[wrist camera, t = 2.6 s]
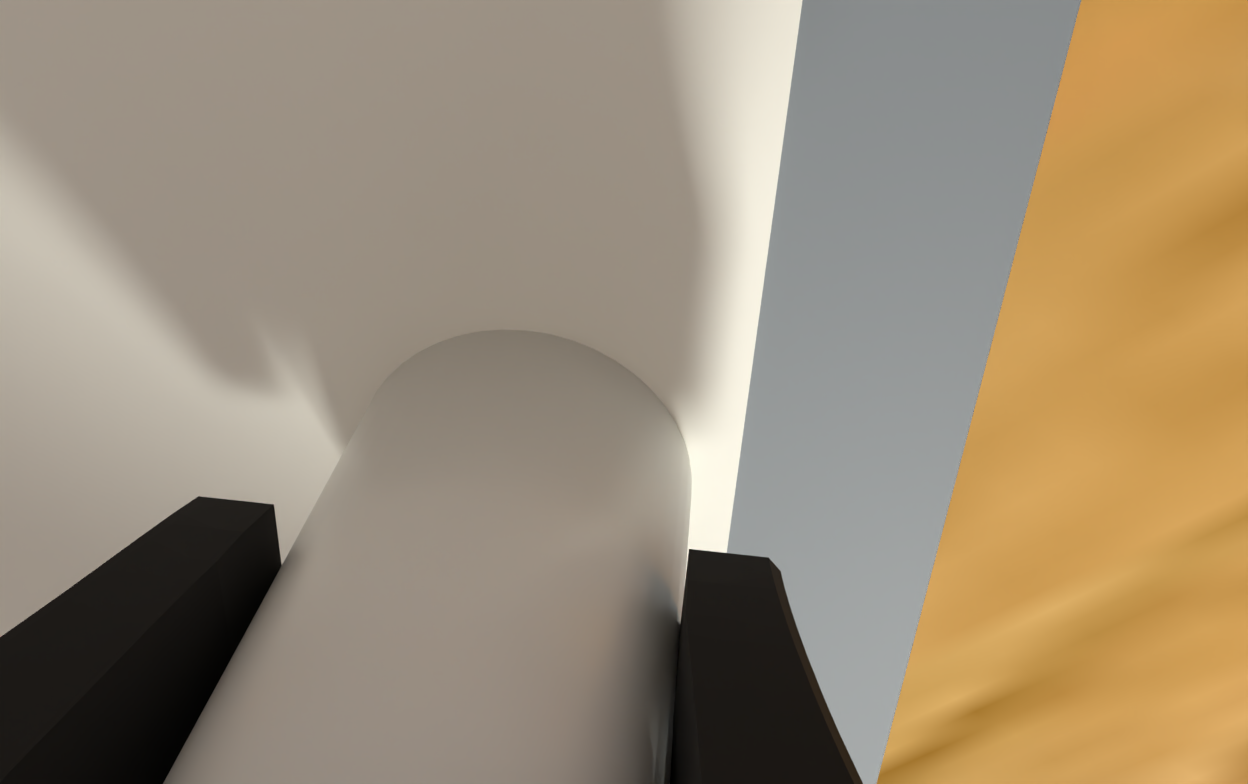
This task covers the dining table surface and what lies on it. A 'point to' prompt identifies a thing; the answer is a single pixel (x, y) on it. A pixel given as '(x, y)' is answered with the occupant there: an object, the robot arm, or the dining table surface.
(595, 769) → the small white bottle
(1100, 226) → the dining table surface
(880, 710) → the white mounting plate
